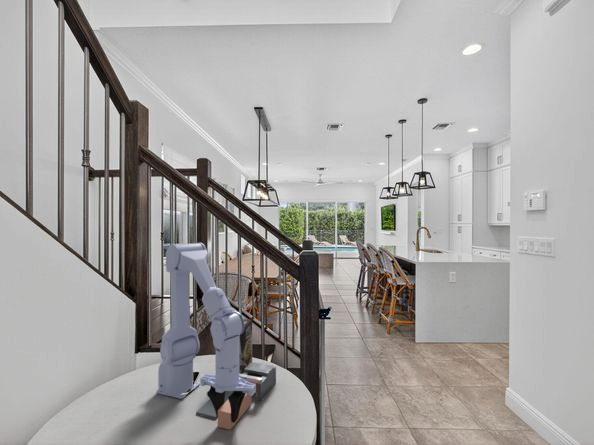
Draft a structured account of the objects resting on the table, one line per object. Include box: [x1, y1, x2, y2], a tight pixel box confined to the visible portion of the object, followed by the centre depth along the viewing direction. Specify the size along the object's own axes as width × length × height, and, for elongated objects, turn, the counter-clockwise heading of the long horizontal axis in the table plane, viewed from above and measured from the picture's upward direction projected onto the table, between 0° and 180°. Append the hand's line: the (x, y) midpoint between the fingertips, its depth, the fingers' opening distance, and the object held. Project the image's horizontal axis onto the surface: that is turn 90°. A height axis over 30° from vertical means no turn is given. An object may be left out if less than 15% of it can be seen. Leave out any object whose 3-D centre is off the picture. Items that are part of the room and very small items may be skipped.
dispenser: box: [239, 362, 277, 403], centre depth 89 cm, size 8×11×6 cm
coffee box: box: [238, 318, 253, 374], centre depth 100 cm, size 9×6×16 cm
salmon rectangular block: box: [217, 393, 253, 431], centre depth 78 cm, size 4×11×4 cm, turn 161°
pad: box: [195, 391, 233, 420], centre depth 83 cm, size 6×12×1 cm, turn 161°
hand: (227, 418), depth 74 cm, fingers closed on salmon rectangular block, 3 cm apart
